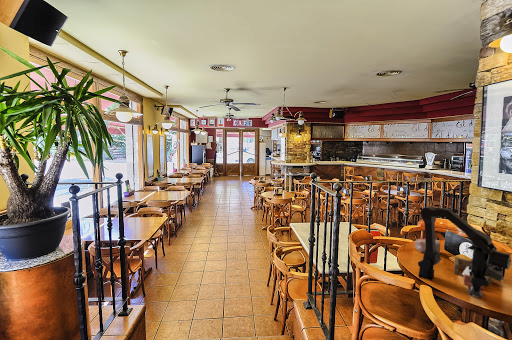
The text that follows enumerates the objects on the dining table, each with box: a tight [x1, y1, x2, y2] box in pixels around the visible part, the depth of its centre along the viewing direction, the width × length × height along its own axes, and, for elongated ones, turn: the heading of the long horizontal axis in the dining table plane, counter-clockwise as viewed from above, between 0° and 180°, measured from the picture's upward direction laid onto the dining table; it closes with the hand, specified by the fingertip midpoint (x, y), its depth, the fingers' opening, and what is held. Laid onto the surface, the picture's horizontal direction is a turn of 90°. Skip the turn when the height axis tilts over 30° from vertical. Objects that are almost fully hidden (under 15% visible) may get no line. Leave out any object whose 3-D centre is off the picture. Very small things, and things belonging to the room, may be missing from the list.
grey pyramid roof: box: [461, 266, 471, 278], centre depth 141 cm, size 8×9×10 cm
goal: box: [453, 256, 493, 284], centre depth 149 cm, size 16×12×6 cm
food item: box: [414, 237, 441, 254], centre depth 178 cm, size 14×8×10 cm, turn 85°
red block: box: [463, 274, 485, 298], centre depth 132 cm, size 8×14×8 cm, turn 144°
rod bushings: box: [467, 285, 483, 299], centre depth 131 cm, size 5×6×2 cm
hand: (476, 290), depth 128 cm, fingers closed on red block, 3 cm apart
